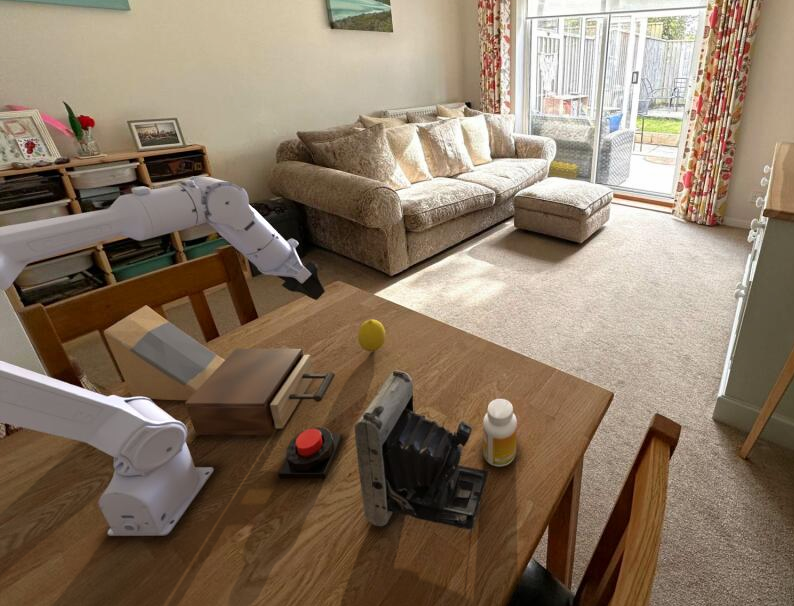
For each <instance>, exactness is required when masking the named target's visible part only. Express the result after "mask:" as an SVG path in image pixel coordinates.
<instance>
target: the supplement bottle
mask: <svg viewBox="0 0 794 606" xmlns="http://www.w3.org/2000/svg"><path fill="white" fill-rule="evenodd" d="M482 421H483V422H482V451H483V452H482V454H483V457H484V459H485V461H486V462H487V463H488V464H490V466H494V467H498V468H499V467H505V466H508V465H510V464H511V463H512V462H513V461H514V460H515V457H516V454H517V435H518V434H517V433H518V432H517V431H518V421H517V416H516V415H515V414H514V407H513V405H512V403H511V402H510V401H509V400H508V399H505V398H496V399H493V400H492V401H490V402H489V403H488V406H487V412H486V413H485V415H484V417H483V420H482Z"/></svg>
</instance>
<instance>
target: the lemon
mask: <svg viewBox="0 0 794 606" xmlns="http://www.w3.org/2000/svg"><path fill="white" fill-rule="evenodd" d="M357 336H358V339H357V340H358V342H359V345H360V346H361V348H362V349H363V350H364V351H367V352H376V351H377V350H380V349H381V348H382V347H383V345H384V344H385V342H386V341H385V340H386V329H385V327H384V325H383V324H382V323H381V322H380V321H379V320H377V319H367V320H366V321H364V322H363V323H362V324H361V325H360V326H359V329H358V335H357Z"/></svg>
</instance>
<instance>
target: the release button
mask: <svg viewBox="0 0 794 606" xmlns="http://www.w3.org/2000/svg"><path fill="white" fill-rule="evenodd" d="M305 430H306V431H305ZM305 430H303V431H304V432H303V431H301V432H302V433H301V432H300V433H301V434H300V433H299V434H300V435H299V436H298V437H297V439H296V447H297V451H298V454H299V455H301V456H310V455H312V454H315V453H316V452H317V451H318V450H319V449H320V448H321V446H322V443H323V441H322V436H321V432H320V431H319V430H317V429H311V428H308V429H305Z"/></svg>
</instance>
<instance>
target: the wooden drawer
mask: <svg viewBox="0 0 794 606" xmlns="http://www.w3.org/2000/svg"><path fill="white" fill-rule="evenodd" d="M335 376H336V375H335V372H333V371H328V372H327V373H315V371H314V367H313V362H312V358H311V354H303V357H302V359H301V360H300V361H299V363H298V364H297V362H295V364H294V365H293V366H292V368H291V369H290V371H289V372H288V374H287V375H286V376H285V378H284V379H283V381H282V382H281V384H280V385H279V387H278V388H277V389H276V391H275V392H274V394H273V395H272V397H271V398H270V399H269V401H268V402H267V406H268V410H269V414H270V418H271V421H272V419H274V423H275V427H276V429H284V427H285V426H286V424H287V422H288V421H289V419H290V417H291V415H292V414H293V412H294V411H295V409H296V407H297V406H298V404H299V402H300V401H301V400H314V401H315V402H317V403H319V402H322V401H323V398H324V397H325V395H326V393H327V391H328V390H329V388H330V385H331V383H332V382H333V380H334V379H335ZM313 379H317V380H318V379H319V380H320V379H322V382H321V384H320V385H319V387H318V389H317V391H316V393H315V394H312V393H309V394H307V393H306V394H305V392H306V391H307V389H308V387H309V386H310V384H311V383H312V381H313Z"/></svg>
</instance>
